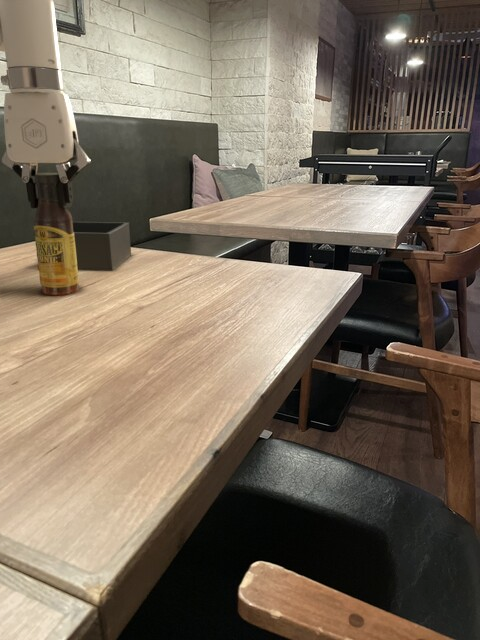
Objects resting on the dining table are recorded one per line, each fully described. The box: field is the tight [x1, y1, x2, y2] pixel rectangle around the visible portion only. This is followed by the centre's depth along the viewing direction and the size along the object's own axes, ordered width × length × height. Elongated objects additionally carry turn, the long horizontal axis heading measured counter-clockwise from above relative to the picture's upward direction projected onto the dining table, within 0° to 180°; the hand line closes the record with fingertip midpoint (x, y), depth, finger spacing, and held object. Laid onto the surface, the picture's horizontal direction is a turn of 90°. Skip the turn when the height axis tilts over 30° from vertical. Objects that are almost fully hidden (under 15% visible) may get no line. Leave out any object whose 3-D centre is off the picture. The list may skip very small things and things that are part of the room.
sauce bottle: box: [33, 172, 80, 296], centre depth 82 cm, size 6×6×20 cm
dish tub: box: [72, 221, 132, 272], centre depth 104 cm, size 15×14×8 cm
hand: (51, 206), depth 80 cm, fingers closed on sauce bottle, 4 cm apart
